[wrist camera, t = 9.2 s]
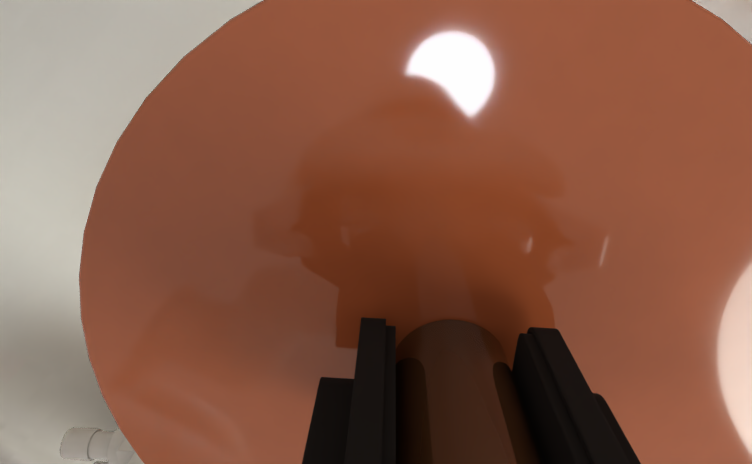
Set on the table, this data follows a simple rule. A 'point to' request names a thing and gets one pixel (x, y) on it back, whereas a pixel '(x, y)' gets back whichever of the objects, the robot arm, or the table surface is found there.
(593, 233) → the lid
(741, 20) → the table surface
